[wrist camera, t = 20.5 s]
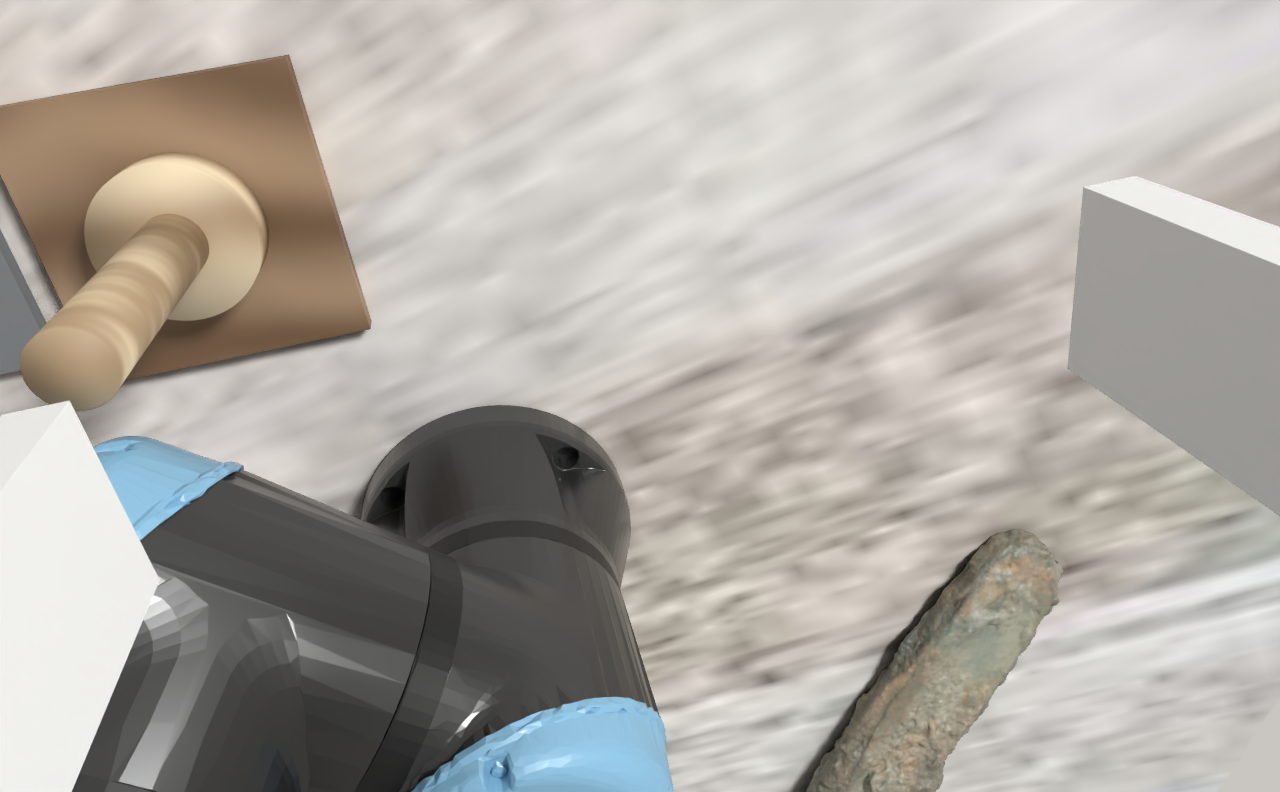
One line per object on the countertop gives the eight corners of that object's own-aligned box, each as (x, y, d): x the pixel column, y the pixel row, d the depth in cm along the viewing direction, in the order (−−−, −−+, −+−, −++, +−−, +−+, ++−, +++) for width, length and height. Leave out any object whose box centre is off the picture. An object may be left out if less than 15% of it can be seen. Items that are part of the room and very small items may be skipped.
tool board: (371, 321, 47) (370, 329, 46) (107, 376, 46) (101, 385, 45) (289, 55, 41) (285, 57, 40) (-20, 109, 39) (-30, 113, 39)
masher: (289, 284, 44) (226, 440, 31) (140, 315, 44) (6, 489, 30) (238, 138, 41) (141, 241, 27) (75, 168, 40) (-107, 290, 27)
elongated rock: (1069, 534, 66) (957, 496, 63) (1116, 576, 61) (997, 536, 58) (844, 886, 76) (738, 867, 73) (869, 946, 71) (757, 928, 68)
